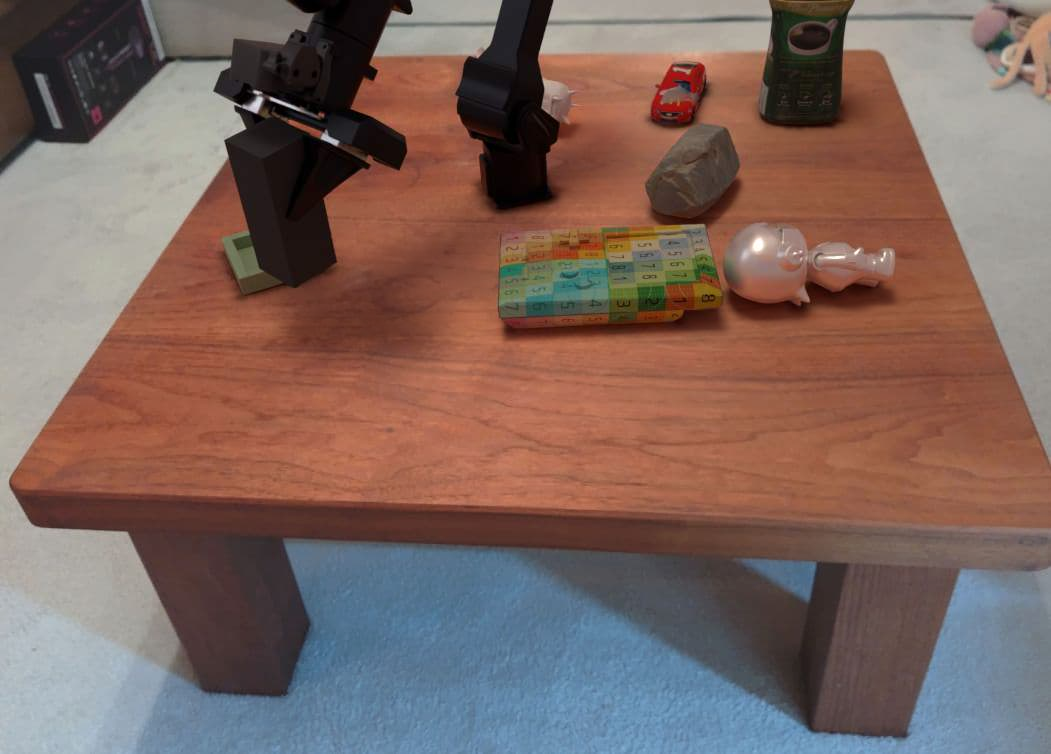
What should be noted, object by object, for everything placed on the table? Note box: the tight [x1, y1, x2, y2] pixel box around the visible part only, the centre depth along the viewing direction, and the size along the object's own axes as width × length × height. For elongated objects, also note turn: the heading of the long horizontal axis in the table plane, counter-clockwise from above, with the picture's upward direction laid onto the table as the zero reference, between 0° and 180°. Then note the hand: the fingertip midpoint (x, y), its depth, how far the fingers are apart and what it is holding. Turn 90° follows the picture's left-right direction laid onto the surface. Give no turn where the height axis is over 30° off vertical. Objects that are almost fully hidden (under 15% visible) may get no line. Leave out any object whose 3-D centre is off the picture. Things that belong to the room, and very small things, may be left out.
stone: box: [644, 122, 741, 219], centre depth 106 cm, size 12×8×8 cm, turn 152°
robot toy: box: [475, 46, 584, 126], centre depth 121 cm, size 15×9×14 cm
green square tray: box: [220, 229, 326, 296], centre depth 103 cm, size 8×8×2 cm
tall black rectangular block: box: [223, 116, 338, 290], centre depth 86 cm, size 5×5×13 cm
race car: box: [650, 60, 707, 124], centre depth 124 cm, size 13×5×4 cm, turn 161°
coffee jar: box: [758, 0, 856, 125], centre depth 116 cm, size 10×8×19 cm
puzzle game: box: [497, 223, 724, 330], centre depth 95 cm, size 12×5×20 cm
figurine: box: [722, 221, 896, 307], centre depth 92 cm, size 11×7×15 cm
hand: (270, 210), depth 86 cm, fingers closed on tall black rectangular block, 5 cm apart
